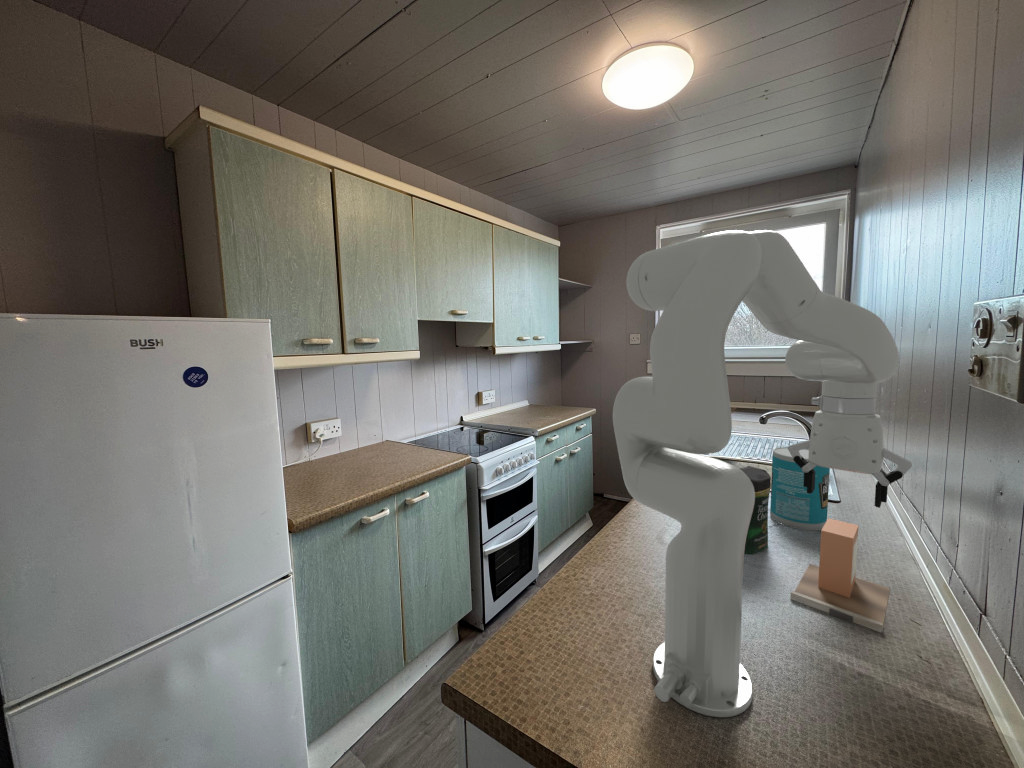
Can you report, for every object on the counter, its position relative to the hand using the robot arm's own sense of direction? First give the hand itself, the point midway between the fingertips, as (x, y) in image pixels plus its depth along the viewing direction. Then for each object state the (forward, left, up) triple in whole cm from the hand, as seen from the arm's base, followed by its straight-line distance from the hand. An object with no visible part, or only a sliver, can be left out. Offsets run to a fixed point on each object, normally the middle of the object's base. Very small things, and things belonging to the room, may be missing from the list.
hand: (842, 497), depth 74 cm
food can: (+30, +12, -18) cm, 37 cm away
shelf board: (-3, -1, -18) cm, 18 cm away
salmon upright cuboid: (0, 0, -17) cm, 17 cm away
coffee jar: (+5, +17, -18) cm, 25 cm away
